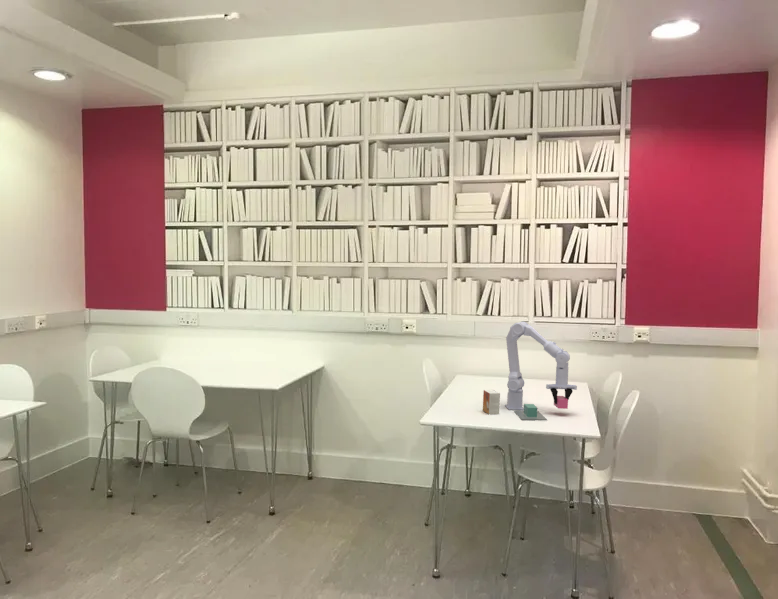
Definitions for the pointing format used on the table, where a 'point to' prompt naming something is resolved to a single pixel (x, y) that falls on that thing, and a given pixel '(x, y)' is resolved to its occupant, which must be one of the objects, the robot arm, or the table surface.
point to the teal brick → (530, 410)
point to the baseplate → (524, 417)
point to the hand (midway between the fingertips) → (560, 403)
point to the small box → (491, 401)
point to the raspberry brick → (562, 402)
